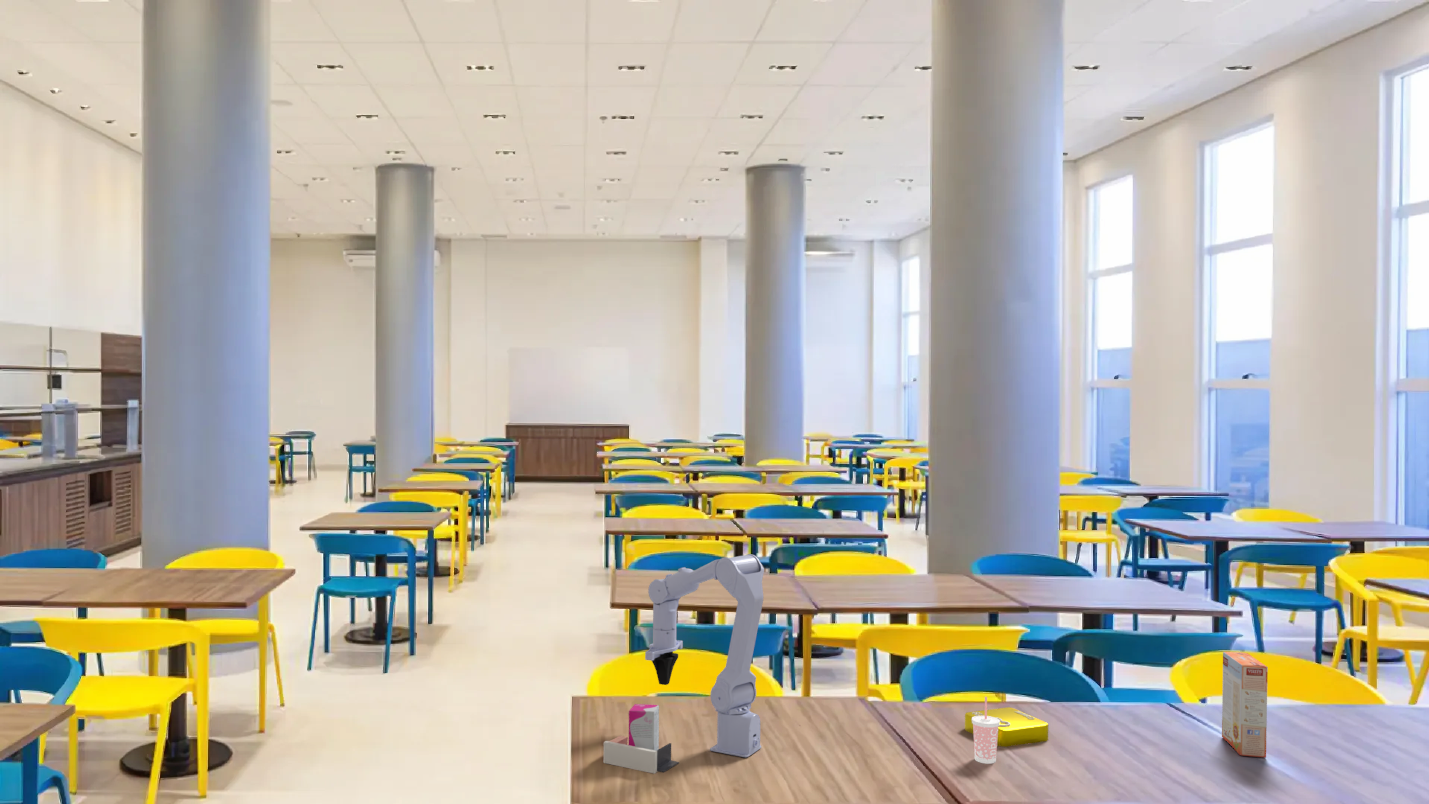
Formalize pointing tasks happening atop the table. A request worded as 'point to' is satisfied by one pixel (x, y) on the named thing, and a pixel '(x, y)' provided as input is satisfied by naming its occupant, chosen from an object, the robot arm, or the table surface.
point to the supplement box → (644, 726)
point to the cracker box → (1244, 704)
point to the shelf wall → (630, 757)
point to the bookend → (665, 759)
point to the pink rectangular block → (620, 740)
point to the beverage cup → (985, 737)
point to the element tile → (1013, 726)
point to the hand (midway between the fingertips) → (664, 683)
